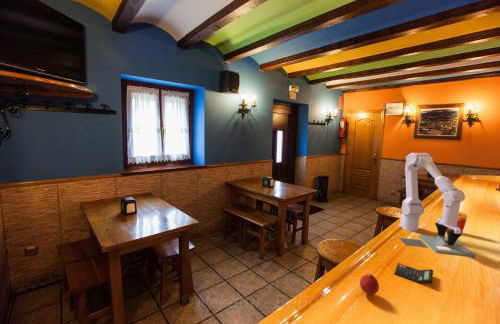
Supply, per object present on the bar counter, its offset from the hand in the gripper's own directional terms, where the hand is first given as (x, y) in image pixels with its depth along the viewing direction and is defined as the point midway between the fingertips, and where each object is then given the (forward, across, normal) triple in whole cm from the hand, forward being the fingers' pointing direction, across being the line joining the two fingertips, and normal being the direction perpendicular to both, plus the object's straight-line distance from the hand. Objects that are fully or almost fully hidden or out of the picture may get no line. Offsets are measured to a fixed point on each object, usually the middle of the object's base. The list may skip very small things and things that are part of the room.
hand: (445, 241), depth 116 cm
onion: (+4, +44, -47) cm, 64 cm away
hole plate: (+3, 0, 0) cm, 3 cm away
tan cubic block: (+3, 0, 0) cm, 3 cm away
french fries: (+4, -22, +17) cm, 28 cm away
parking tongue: (+3, 0, -14) cm, 14 cm away
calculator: (+4, +28, -26) cm, 38 cm away
